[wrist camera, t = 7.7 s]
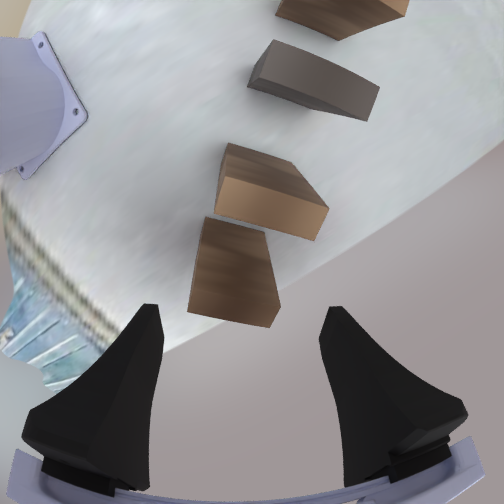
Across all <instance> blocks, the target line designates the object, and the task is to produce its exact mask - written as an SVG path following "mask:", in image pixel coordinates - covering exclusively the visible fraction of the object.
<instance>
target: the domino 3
mask: <svg viewBox="0 0 504 504" xmlns="http://www.w3.org/2000/svg"><path fill="white" fill-rule="evenodd" d="M408 4H409V0H282V1H281V3H280V6H279V8H278V10H277V13H276V16H279V17H282V18H285V19H287V20H290V21H293V22H296V23H298V24H301V25H303V26H306V27H308V28H311V29H313V30H316V31H318V32H320V33H323V34H325V35H327V36H329V37H331V38H334V39H336V40H338V41H340V40H342V39H344V38H347V37H349V36H351V35H354V34H356V33H359V32H361V31H364V30H367V29H369V28H372V27H375V26H377V25H380V24H383V23H386V22H389V21H392V20H395V19H398V18H401V17H405V14H406V10H407V7H408Z"/></svg>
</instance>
